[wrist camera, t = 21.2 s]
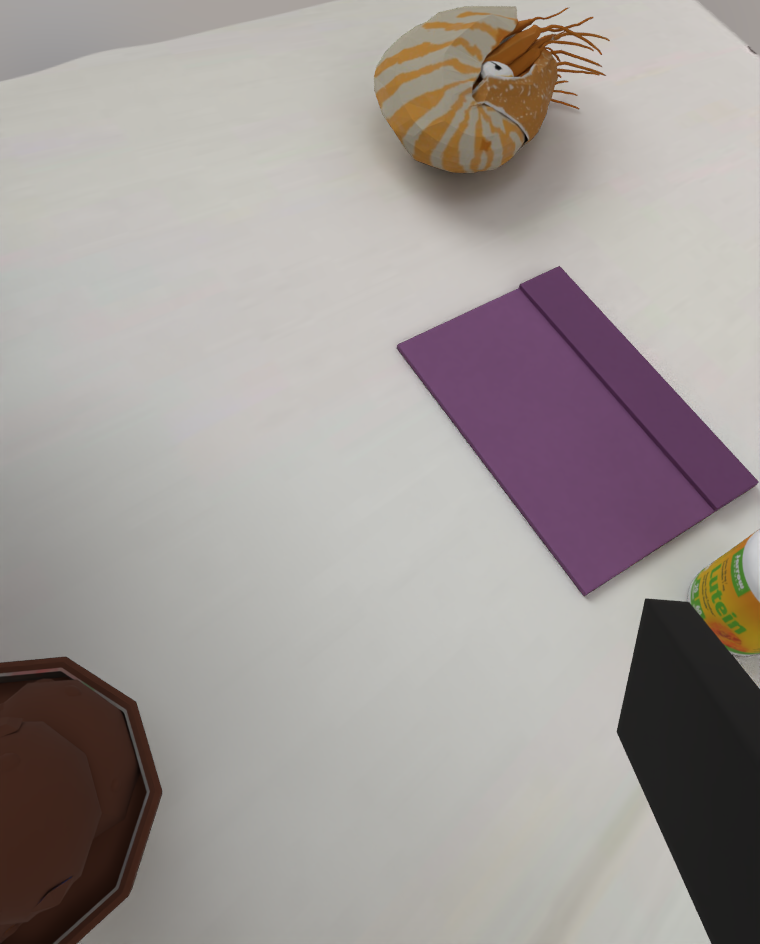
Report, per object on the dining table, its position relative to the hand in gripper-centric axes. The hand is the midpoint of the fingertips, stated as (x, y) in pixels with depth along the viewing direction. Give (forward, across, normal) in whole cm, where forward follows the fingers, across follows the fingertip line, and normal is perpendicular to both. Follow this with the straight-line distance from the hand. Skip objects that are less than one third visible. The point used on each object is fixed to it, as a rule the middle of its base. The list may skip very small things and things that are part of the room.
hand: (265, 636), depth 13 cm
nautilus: (+54, +9, +16) cm, 57 cm away
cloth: (+35, +14, -3) cm, 37 cm away
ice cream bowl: (+16, -11, -21) cm, 29 cm away
